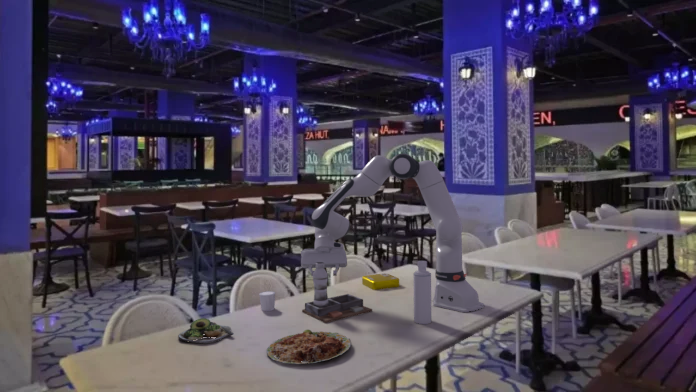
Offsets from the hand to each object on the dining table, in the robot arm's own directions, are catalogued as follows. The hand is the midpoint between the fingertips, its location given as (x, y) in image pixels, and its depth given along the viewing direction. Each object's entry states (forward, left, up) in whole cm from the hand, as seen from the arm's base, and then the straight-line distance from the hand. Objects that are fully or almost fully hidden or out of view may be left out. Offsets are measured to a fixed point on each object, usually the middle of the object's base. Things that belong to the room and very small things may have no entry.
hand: (323, 275), depth 204 cm
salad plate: (-1, +52, -15) cm, 54 cm away
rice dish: (-36, +30, -15) cm, 49 cm away
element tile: (+14, -42, -15) cm, 47 cm away
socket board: (-9, -1, -14) cm, 16 cm away
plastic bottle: (-6, +5, -13) cm, 15 cm away
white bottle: (-40, -20, -14) cm, 46 cm away
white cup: (+13, +20, -14) cm, 28 cm away
